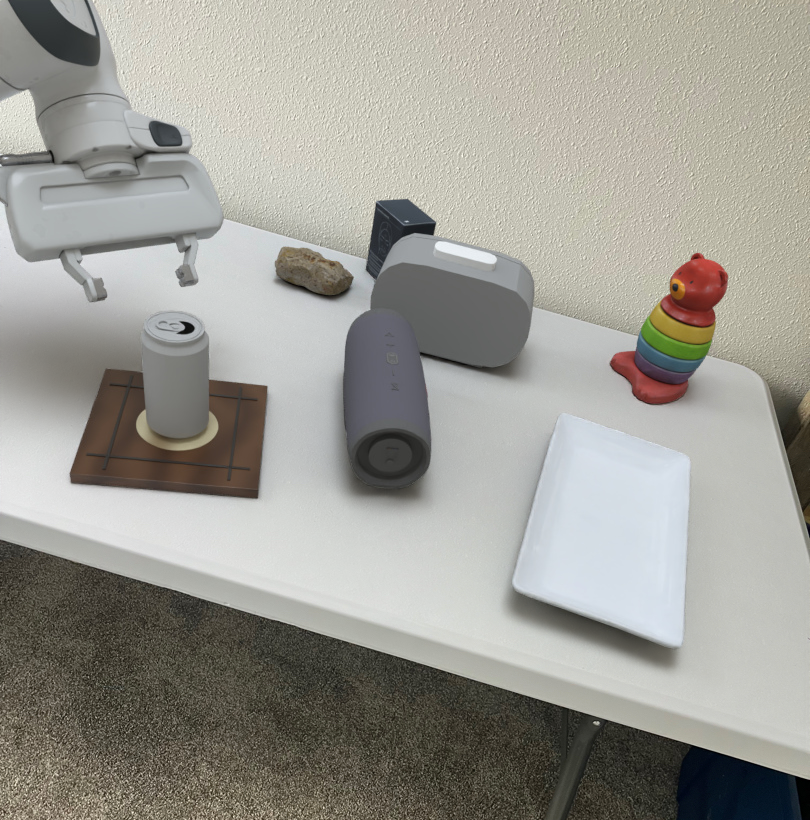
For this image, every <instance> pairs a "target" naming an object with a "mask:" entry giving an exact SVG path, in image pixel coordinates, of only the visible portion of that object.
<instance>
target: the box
mask: <svg viewBox="0 0 810 820" xmlns="http://www.w3.org/2000/svg"><path fill="white" fill-rule="evenodd" d="M372 219H373V220H372V227H371V234H370V240H369V245H368V246H369V247H368V253H367V260H366V265H365V270H366V271H367V272H368V273H369V274H370V275H371V276H372V277H373V278H375V280H377V277H378V275H379V273H380V271H381V269H382V266H383V264H384V262H385V260H386V257H387V255H388V254H389V252H390V250H391V248H392V246H393V245H394V244H395V243H396V242H397V241H399V240H400V239H401V238H402V237H405V236H408V235H411V234H414V233H418V234H425V235H433V236H435V232H436V227H437V221H436V220H435V219H433V218H432V217H431V216H430V215H428V214H427V213H426V212H424V210H422V209H421V208H420V207H418V206H417V205H416V204H415V203H413V202H412V201H411V200H410V199H409V198H399V199H398V198H397V199H386V200H385V199H383V200H382V199H381V200H376V201H375V207H374V212H373V218H372Z"/></svg>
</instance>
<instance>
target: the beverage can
mask: <svg viewBox="0 0 810 820" xmlns="http://www.w3.org/2000/svg"><path fill="white" fill-rule="evenodd" d="M139 338H140V351H141V365H142V372H143V380H144V394H145V408H146V420H147V423H148V425H149V427H150V428H151V429H152V430H153V431H155V432H156V433H158V434H160V435H163V436H165V437H168V438H174V439H185V438H189V437H193V436H195V435H197V434H199V433H200V432H202V431H203V430H204V429H205V428H206V427H207V425H208V423H209V379H210V337H209V334H208V332H207V331H206V326H205V323H204V322H203V320H202V319H201V318H200V317H198V316H197V315H194V314H192V313H189V312H186V311H182V310H171V309H170V310H162V311H158V312H154V313H152V314H150V315H149V316H147V317H146V319H145V320H144V321H143V329H142V330H141V332H140V336H139Z"/></svg>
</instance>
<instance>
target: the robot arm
mask: <svg viewBox="0 0 810 820" xmlns="http://www.w3.org/2000/svg"><path fill="white" fill-rule="evenodd" d="M117 69H118V68H117V60H116V57H115V54H114V51H113V48H112V45H111V42H110V40H109V36H108V33H107V31H106V29H105V25H104V24H103V21H102V18H101V17H100V14H99V12H98V9H97V8H96V5H95V3H94V1H93V0H0V102H2V101H4V100H7V99H9V98H12V97H14V96H16V95H19V94H20V93H23V92H25V91H27V90H28V92H29V93H30V95H31V98H32V100H33V105H34V113H35V115H34V116H35V121H36V124H37V127H38V130H39V132H40V136H41V139H42V141H43V144H44V147H45V150H44V151H43V150H42V151H32V152H31V151H30V152H27V153H19V154H18V153H13V152H12V153H3V154H0V203H2V204H3V205H4V211H5V216H6V221H7V226H8V230H9V234H10V237H11V241H12V245H13V247H14V251H15V253H16V254H17V255H18V256H19V257H21V258H22V259H23V260H25V261H26V262H27V263H38V262H43V261H44V262H45V261H52V260H59V259H60V262H61V265H62V268H63V271H65V272H66V273H67V274H68V275H69V276H70V277H71V278H72V279H74V280H75V281H76V282H77V283H78V284H79V285H80V286H81V287H82V289H83V291H84V294H85V297H86V300H87V301H88V303H90V304H92V303H97V302H102V301H103V302H104V301H105V300H106V299H107V298H108V291H107V289H106V288H105V287H104V286H105V282H104V280H103V278H102V277H97V278H94V277H92V275H91V274H90V273H89V271H87V270H86V269H85V268H84V267H83V266H82V265H81V264H82V262H83V256H88V255H89V256H90V255H96V254H97V255H98V254H103V253H111V252H118V251H126V250H134V249H141V248H142V249H143V248H148V247H149V248H150V247H155V246H163V245H171V244H175V246H176V248H177V251H178V253H179V254H183V253H184V255H183V259H182V260H183V261H182V264H181V265H179V266H178V267H177V269H175V270H174V273H175V275H176V278H177V280H178V285H179V286H180V288H185V287H193V286H196V285H197V284H198V283H199V275H198V273H197V270H196V266H195V263H196V258H197V254H198V249H199V242H198V241H200V240H208V239H211V238H213V237H214V236H215V235H216V234H217V233H218V232H219V231H220V230H221V228H222V226H223V223H224V220H225V219H224V218H225V215H224V211H223V207H222V204H221V201H220V199H219V196H218V193H217V191H216V188H215V186H214V183H213V181H212V179H211V177H210V174H209V172H208V170H207V168H206V167H205V165H204V164H203V163H202V161H201V160H200V159H199V158H198V157H197V156H195V155H193V154H191V153H190V152H191V150H192V147H193V144H194V143H193V138H192V135H191V133H190V131H189V129H188V128H186V127H185V126H182V125H180V124H176V123H173V122H169V121H165V120H161V119H158V118H154V117H152V116H149V115H145V114H143V113H141V112H138V111H135V110H133V108H132V104H131V102H130V100H129V98H128V97H127V95H126V93H125V91H124V90H123V89H122V87H121V84H120V82H119V78H118V70H117Z"/></svg>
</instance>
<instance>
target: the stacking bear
mask: <svg viewBox="0 0 810 820" xmlns="http://www.w3.org/2000/svg"><path fill="white" fill-rule="evenodd" d="M669 279H670V280H669V294H667V295H665V296H664V297H663V298H662V299H661V300H660V301H658V303H657V304H656V305H655V306H654V308H653V309H652V311H651V313H650V314H648V316H647V318H645V320H644V322H643V324H642V326H641V328H640V331H639V333H638V337H637V340H636V347H635V350H626V351H619V352H616V353H614V354H613V356H612V358H611V359H610V361H609V364H610V366H611V367H612V369H613V370H614V371H615V372H617V373H618V374H620V375H622V376H624V377H625V378H626V379H627V380H628V382H629V383H630V384H631V387H632V393H633V394H634V396H635V397H636V398H637V399H638V400H640V401H642V402H644V403H647V404H653V405H654V404H656V405H657V404H667V403H671V402H674V401H676V400H679V399H680V398H681V397H683V396H684V395H685V394H686V392H687V390H688V387H689V379H690V378H691V377H692V376H693V375H694V373H695V372H696V371H697V370H698V369H699V368H700V366H701V365H702V363H703V362H704V361H705V359H706V357H707V355H708V354H709V351H710V349H711V346H712V343H713V338H714V335H715V331H716V325H717V320H716V319H717V317H716V313H715V312H716V311H715V310H714V308H715V307H716V306H717V305H718V304H719V303H720V302H721V301H722V300H723V298H724V296H725V295H726V292H727V289H728V285H729V284H728V283H729V282H728V281H729V274H728V272H727V271H726V270H725V268H724V267H723V266H722V265H721V264H720V263H718V262H716V261H714V260H712V259H708V258H705V255H703V254H702V253H701V252H695V253H693V254H692V255H691V257H690V260H688V261H687V262H685V263H683V264H681V266H679V267H678V268H677V269H676V270H675V271H674V272H673V274H672V275H671V277H670V278H669Z"/></svg>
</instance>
